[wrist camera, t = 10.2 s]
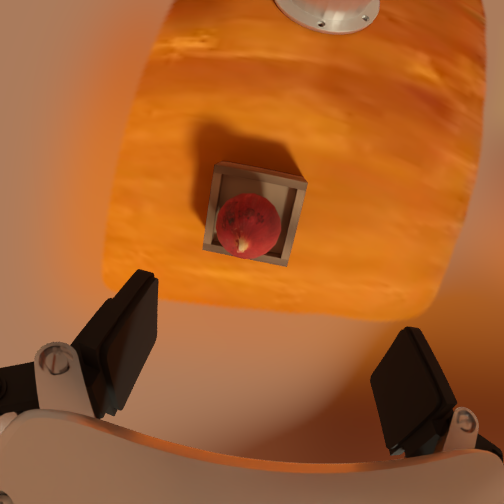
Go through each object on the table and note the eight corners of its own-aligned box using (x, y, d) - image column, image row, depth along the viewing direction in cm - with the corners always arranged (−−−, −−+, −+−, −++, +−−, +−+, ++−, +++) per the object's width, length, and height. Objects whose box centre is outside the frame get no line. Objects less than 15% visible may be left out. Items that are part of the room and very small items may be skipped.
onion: (215, 201, 29) (190, 229, 21) (265, 175, 27) (255, 195, 20) (242, 247, 30) (227, 288, 23) (291, 225, 29) (291, 262, 22)
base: (222, 160, 30) (214, 164, 26) (303, 177, 30) (307, 183, 26) (210, 236, 33) (202, 249, 29) (285, 251, 33) (286, 266, 30)
